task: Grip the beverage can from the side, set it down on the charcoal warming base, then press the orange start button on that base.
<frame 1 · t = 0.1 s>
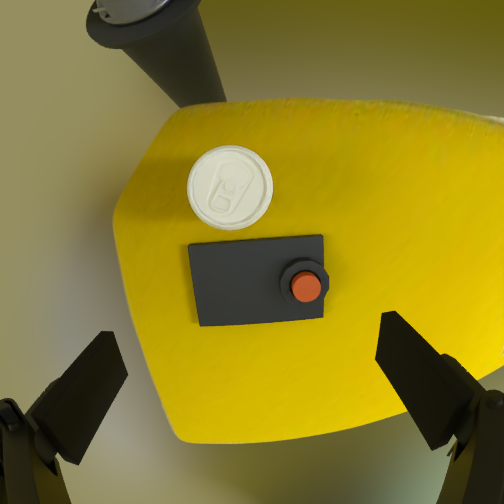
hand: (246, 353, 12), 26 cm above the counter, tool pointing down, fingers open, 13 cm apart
warming base: (258, 281, 38), on the counter
beverage can: (236, 187, 36), on the counter
start button: (305, 286, 35), point 4 cm above the counter, slide at 0.2 cm
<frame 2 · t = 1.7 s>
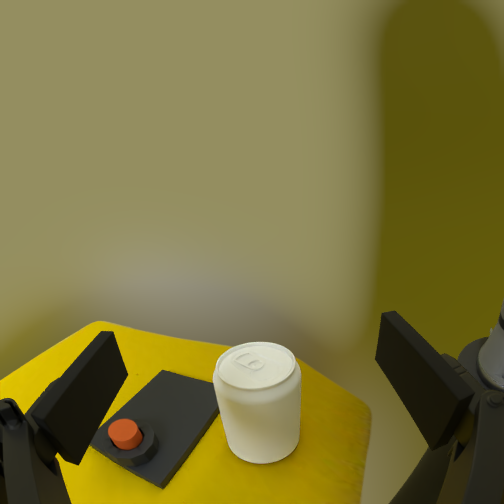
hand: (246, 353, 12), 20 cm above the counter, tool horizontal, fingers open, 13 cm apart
warming base: (162, 422, 29), on the counter
beverage can: (263, 440, 26), on the counter
start button: (125, 434, 23), point 4 cm above the counter, slide at 0.2 cm
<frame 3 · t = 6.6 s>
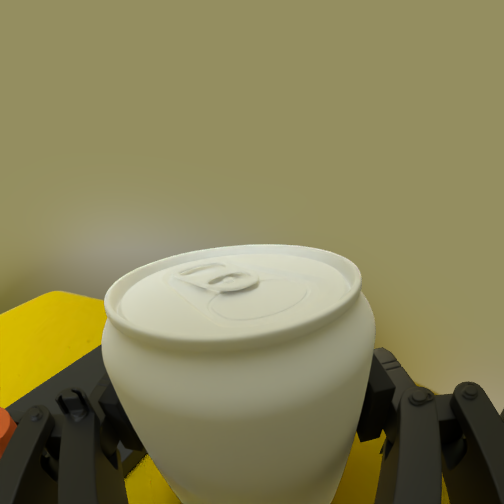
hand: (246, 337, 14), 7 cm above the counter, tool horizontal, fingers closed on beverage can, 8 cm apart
warming base: (77, 427, 13), on the counter
beverage can: (258, 484, 11), on the counter, touching gripper
when the fingers open (8 cm above the counter, at t = 13.2 s): beverage can stays where it is, resting on warming base.
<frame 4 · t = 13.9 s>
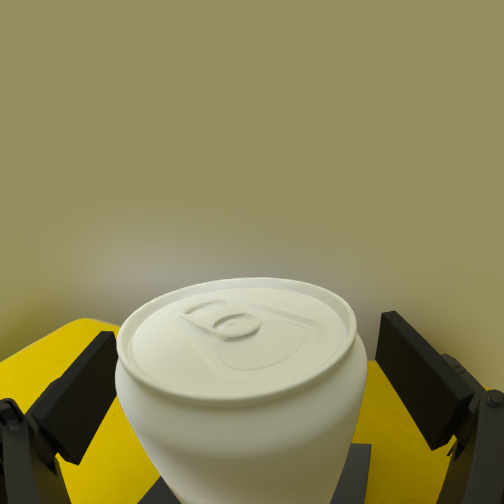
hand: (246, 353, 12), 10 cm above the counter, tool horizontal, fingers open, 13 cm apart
beverage can: (258, 493, 11), point 1 cm above the counter, touching warming base
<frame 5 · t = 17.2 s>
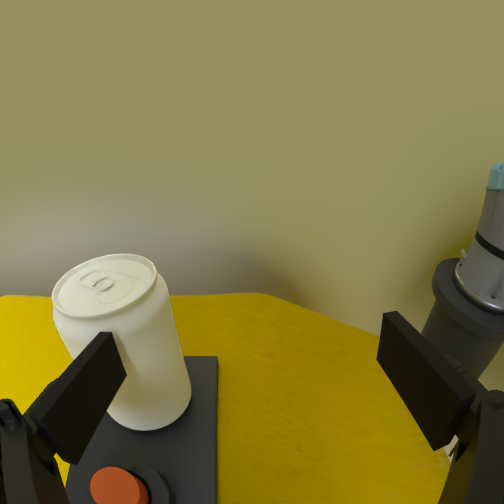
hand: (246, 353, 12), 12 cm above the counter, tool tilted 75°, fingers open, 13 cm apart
warming base: (145, 440, 17), on the counter
beverage can: (148, 396, 20), point 1 cm above the counter, touching gripper, warming base
start button: (119, 492, 10), point 4 cm above the counter, slide at 0.2 cm
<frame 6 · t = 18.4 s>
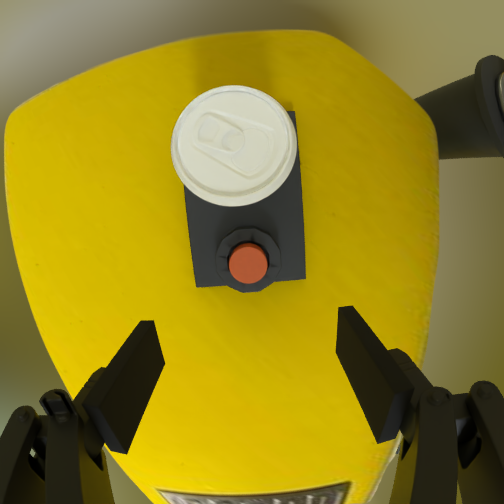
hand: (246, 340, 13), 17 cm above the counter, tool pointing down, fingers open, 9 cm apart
warming base: (243, 199, 29), on the counter
beverage can: (239, 159, 27), point 1 cm above the counter, touching warming base
start button: (248, 263, 27), point 4 cm above the counter, slide at 0.2 cm
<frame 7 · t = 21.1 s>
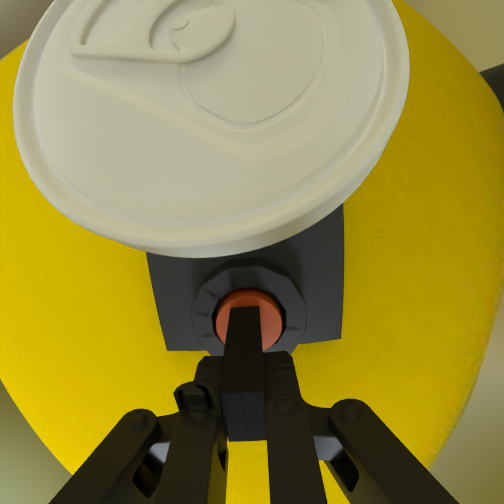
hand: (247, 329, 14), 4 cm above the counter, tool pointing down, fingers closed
warming base: (241, 208, 17), on the counter
beverage can: (233, 139, 15), point 1 cm above the counter, touching warming base
start button: (249, 319, 15), point 3 cm above the counter, slide at -0.7 cm, touching gripper
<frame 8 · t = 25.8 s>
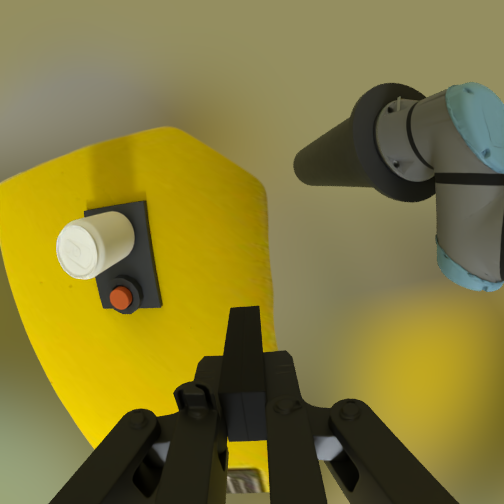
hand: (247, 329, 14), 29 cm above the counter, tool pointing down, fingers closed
warming base: (122, 257, 44), on the counter
beverage can: (115, 235, 42), point 1 cm above the counter, touching warming base
start button: (121, 297, 42), point 4 cm above the counter, slide at 0.1 cm
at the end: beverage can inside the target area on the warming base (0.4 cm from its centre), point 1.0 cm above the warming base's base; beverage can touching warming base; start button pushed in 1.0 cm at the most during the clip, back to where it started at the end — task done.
